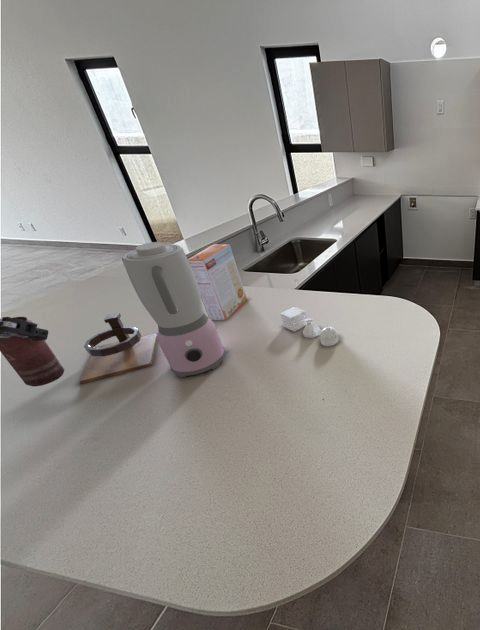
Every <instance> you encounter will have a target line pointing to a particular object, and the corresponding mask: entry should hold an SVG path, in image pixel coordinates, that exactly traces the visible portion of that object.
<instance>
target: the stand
mask: <svg viewBox="0 0 480 630" xmlns="http://www.w3.org/2000/svg"><path fill="white" fill-rule="evenodd" d="M121 316H122V315H121V313H120V312H117V313H111V314H106V315H105V317H104V319H103V321H104V323H105V324H108V325H109V327H110V329H106V330H104V331H101V332H98V333H96V334H95V335H93V336H91V337H90V338H89V339H87V340H86V341H85V343H84V344H83V348H84V349H85V351H86V352H87V354H89V355H90V357H89V359H88V361H87V363H86V366H85V368H84V369H83V372H82V374H81V376H80V377H79V380H78V382H79V384H80V385H82V384H86V383H90V382H94V381H98V380H102V379H105V378H109V377H114V376H118V375H122V374H125V373H129V372H132V371H137V370H140V369H144V368H148V367H151V366H152V365H153V361H154V356H155V351H156V348H157V347H156V346H157V343H158V332H155V333H151V334H147V335H146V334H145V335H142V334H141V332H140V330H139V329H138V328H137V327H135V326H124V324H123V322H122V320H121ZM130 335H131V336H130ZM113 337H115V338H116V339H117V340H118V341H117V342H116V341H115V342H112V343H106V344H102V345H99V344H100V343H102V342H104V341H106V340H108V339H111V338H113Z"/></svg>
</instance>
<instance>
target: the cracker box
mask: <svg viewBox="0 0 480 630" xmlns="http://www.w3.org/2000/svg"><path fill="white" fill-rule="evenodd" d="M187 259H188V261H189V263H190V265H191V268H192V270H193V273H194V276H195V279H196V281H197V284H198V287H199V291H200V296H201V302H202V305H203V307H204V309H205V312H206V314H207V317H208V318H210V319H211V320H212V321H228V320H229V318H230V317H232V316H233V315H234V314H235V313H236V312H237V311H238V310H239V309H240V308H241V307H242V306H243V305H244V304H245V303H246V302H247V301H248V298H247V294H246V291H245V289H244V288H245V287H244V285H243V283H242V282H243V281H242V279H241V275H240V272H239V269H238V267H237V263H236V260H235V257H234V254H233V251H232V247H231V245H230V244H228V243H227V244H219V243H215V244H212V245H210V246H208V247H207V248H205V249H203V250H201V251H200V252H197V253H196V254H195V255H193V256H191V257H189V258H187Z"/></svg>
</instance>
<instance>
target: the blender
mask: <svg viewBox="0 0 480 630" xmlns="http://www.w3.org/2000/svg"><path fill="white" fill-rule="evenodd" d="M188 259H189V258H188V257H187V255H186V252H185V250H184V248H183V247H182V246H181V245H179V244H175V243H165V242H163V241H152V242H146V243H142V244H139V245H137V246H136V247H135V249H133V250H130V251H128V252H125V254H123V255H122V257H121V262H122V264H123V266H124V269H125V271H126V273H127V276H128V279H129V281H130V283H131V285H132V287H133V289H134V291H135V293H136V296H137V297H138V299H139V301H140V302H141V304H142V305H143V306H144V308H145V310H146V311H147V312H148V314H149V315H150V317H151V318H152V320H154V322H155V323H156V325H157V330H158V331H157V334H158V338H157V343H158V345H159V347H160V349H161V351H162V353H163V355H164V357H165V359H166V361H167V362H168V363H167V364H168V365H169V367H170V369H171V371H172V373H173V374H174V375H177V377H179V378H187V377H189V376H194V375H199V374H202V373H203V374H204V373H205V372H208V371H210V370H212V371H213V370H215V369H217V368H219V367H220V366H221V363H222V362H223V361H224V359H225V357H226V355H227V353H226V350H225V348H224V346H223V342H222V340H221V336H220V334H219V332H218V329H217V327H216V325H215V323H214V321H213V320H211V319H210V318H209V316H208V315H206V314H205V312H204V308H203V302H202V299H201V296H200V291H199V287H198V284H197V281H196V279H195V276H194V273H193V270H192V268H191V265H190V263H189V261H188Z"/></svg>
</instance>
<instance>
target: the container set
mask: <svg viewBox="0 0 480 630" xmlns="http://www.w3.org/2000/svg"><path fill="white" fill-rule="evenodd" d="M280 319H281V321H282V327H284V329H287V330H289V331H292V332H293V333H294V332H297V331H298V330H301V329H302V328H303V329H302V335H303V337H304V338H308V339H310V338H316V337H318V336H319V338H320V344H321V345H322V346H325V347H331V346H334V345H337V343H338V342H339V334H338V331H337V329H335V328H334V327H332V326H328V325H327V326H326V327H323V328H322V329H321V328H320V326H318V325H317V324H316V323H315V322H314V319H313V318H311V317H307V314H306V311H305V310H304V309H302V308H299V307H296V306H293V307H291V308H289V309H286V310H284V311H282V312H281V313H280Z"/></svg>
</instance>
